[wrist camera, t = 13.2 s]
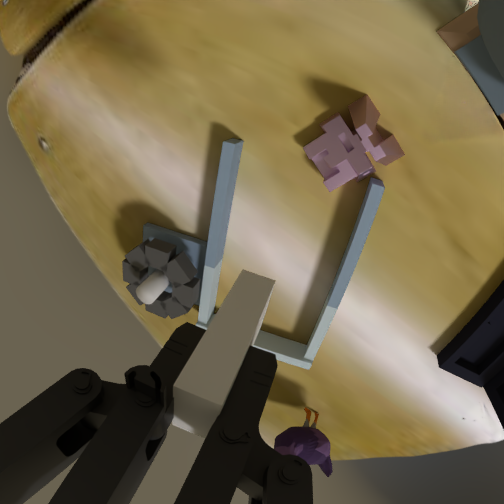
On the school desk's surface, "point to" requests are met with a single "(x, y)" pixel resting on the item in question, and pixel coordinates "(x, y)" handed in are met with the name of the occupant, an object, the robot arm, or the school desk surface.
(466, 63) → the alarm clock
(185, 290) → the wheel
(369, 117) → the letters
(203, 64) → the school desk surface
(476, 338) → the black laptop
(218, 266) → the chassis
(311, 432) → the toy
